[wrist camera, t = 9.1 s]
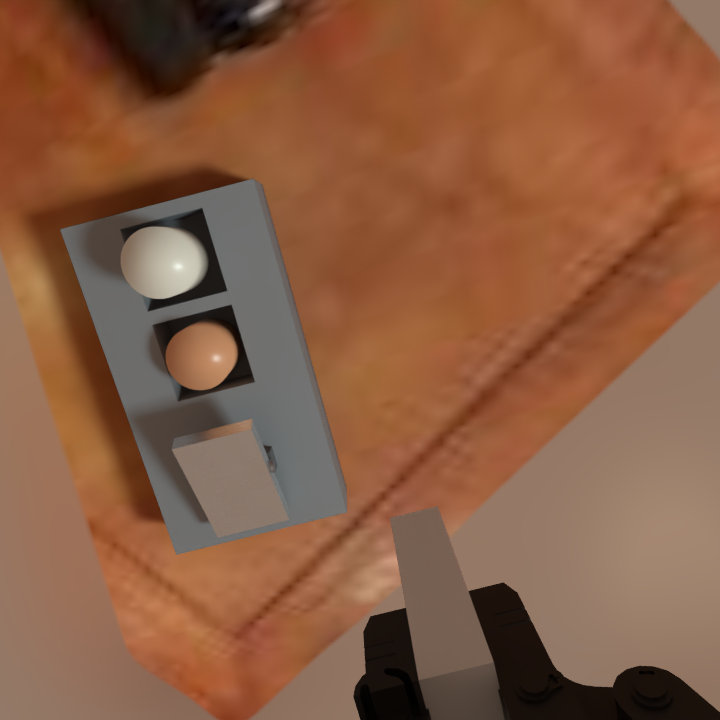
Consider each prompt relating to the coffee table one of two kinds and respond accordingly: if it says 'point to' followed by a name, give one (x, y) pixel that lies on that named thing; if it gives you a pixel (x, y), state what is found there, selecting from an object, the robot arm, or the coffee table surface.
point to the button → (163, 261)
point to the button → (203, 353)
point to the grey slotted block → (245, 381)
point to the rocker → (232, 477)
